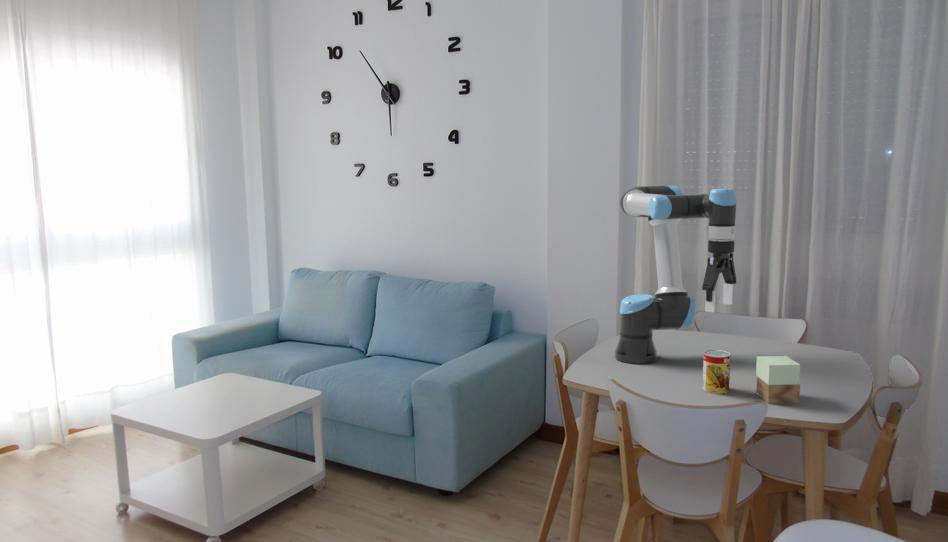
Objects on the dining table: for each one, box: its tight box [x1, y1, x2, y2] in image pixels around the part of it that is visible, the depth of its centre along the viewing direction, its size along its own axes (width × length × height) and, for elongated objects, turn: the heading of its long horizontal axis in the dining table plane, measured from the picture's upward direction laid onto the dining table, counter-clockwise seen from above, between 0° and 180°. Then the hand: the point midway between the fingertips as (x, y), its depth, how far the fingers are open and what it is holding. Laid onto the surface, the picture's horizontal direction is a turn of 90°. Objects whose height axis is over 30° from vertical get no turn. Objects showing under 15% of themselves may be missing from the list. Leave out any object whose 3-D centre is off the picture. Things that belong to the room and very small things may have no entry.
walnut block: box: [755, 376, 801, 405], centre depth 194 cm, size 9×9×6 cm
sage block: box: [755, 355, 801, 385], centre depth 193 cm, size 9×9×6 cm
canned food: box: [702, 349, 731, 395], centre depth 202 cm, size 8×8×12 cm
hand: (718, 307), depth 199 cm, fingers open, 13 cm apart
